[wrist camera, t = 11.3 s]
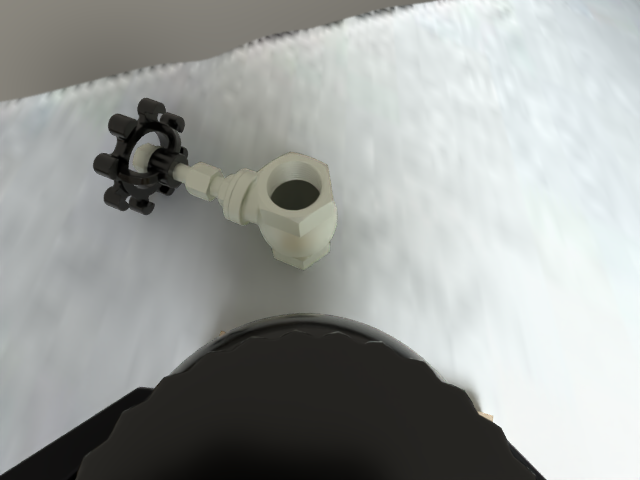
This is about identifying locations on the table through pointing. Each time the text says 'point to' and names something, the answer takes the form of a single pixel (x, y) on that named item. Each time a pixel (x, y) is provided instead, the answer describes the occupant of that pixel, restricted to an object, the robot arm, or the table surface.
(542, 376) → the table surface
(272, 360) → the supplement bottle
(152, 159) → the valve
